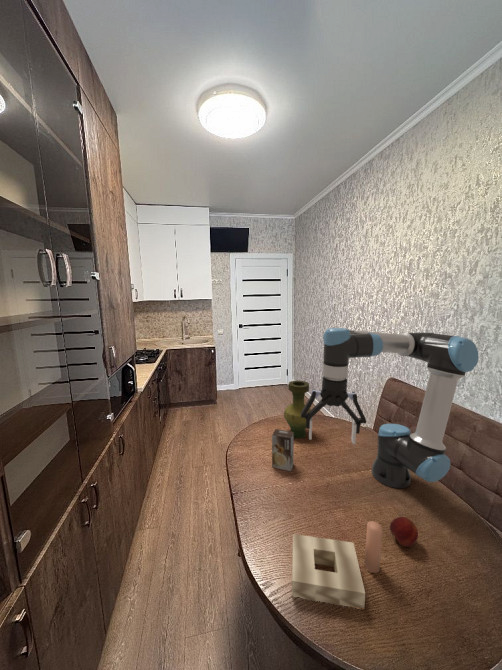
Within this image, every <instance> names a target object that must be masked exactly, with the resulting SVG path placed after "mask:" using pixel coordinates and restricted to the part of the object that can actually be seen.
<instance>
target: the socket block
mask: <svg viewBox="0 0 502 670" xmlns="http://www.w3.org/2000/svg"><path fill="white" fill-rule="evenodd" d="M355 548H356V547H355V543H354V542H351V541H345V540H337V539H333V538H332V539H331V538H323V537H318V536H317V537H316V536H310V535H301V534H296V533H293V534H292V554H291V555H292V556H291V557H292V559H291V560H292V565H291V567H292V569H291V570H292V573H291V577H292V579H291V597H292V596H295V597H300V598H304V599H303V600H305V599H308V600H307V601H311V600H312V602H317V601H318V603H322V602H326V603H325V604H328V603H330V604H329V605H333V604H335V606H339V605H343V606H342V607H344V606H352V607H359V608H364V609H365V603H366V591H365V590H366V589H365V586H364V582H363V578H362V573H361V570H360V565H359V561H358V556H357V553H356V549H355ZM316 565H319V566H326V567H333V570H334V571H329V570H328V571H327V570H323V569H316ZM300 598H299V599H300ZM319 601H320V602H319Z"/></svg>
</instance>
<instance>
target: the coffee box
mask: <svg viewBox="0 0 502 670" xmlns="http://www.w3.org/2000/svg"><path fill="white" fill-rule="evenodd" d="M294 439H295V438H294V432H290V430H284V429H280V428H279V429H278V428H274V430H273V432H272V434H271V465H272V466H271V467H272V468H275V469H280V470H283V471H288V472H292V470H293V467H294V464H295V463H294V453H295V452H294V449H295V448H294V447H295V445H294V444H295V442H294Z"/></svg>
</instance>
